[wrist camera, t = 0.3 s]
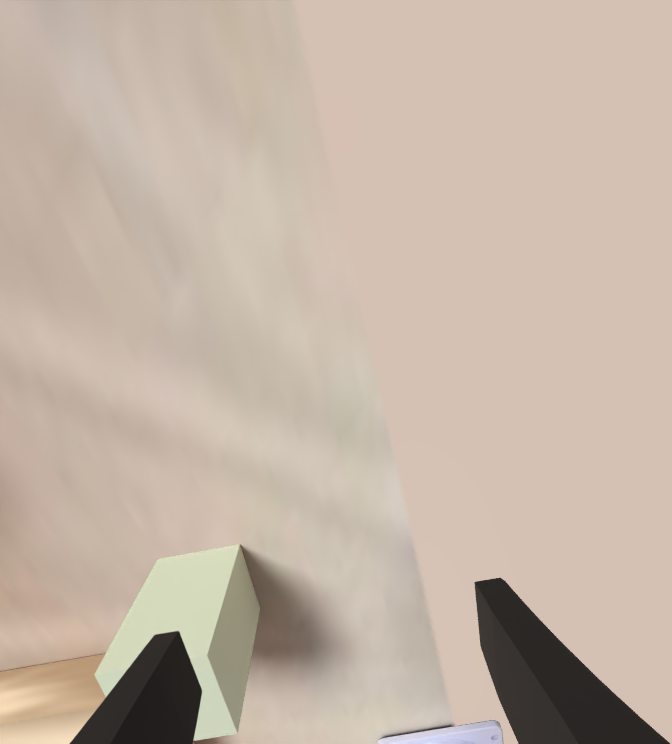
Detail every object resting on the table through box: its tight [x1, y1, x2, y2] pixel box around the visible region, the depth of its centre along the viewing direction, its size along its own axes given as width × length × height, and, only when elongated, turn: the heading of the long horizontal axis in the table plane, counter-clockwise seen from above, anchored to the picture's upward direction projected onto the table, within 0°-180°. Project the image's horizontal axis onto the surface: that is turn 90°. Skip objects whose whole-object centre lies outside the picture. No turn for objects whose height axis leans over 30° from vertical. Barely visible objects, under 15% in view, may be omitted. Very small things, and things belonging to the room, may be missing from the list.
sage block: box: [94, 544, 260, 741], centre depth 18 cm, size 4×4×6 cm
